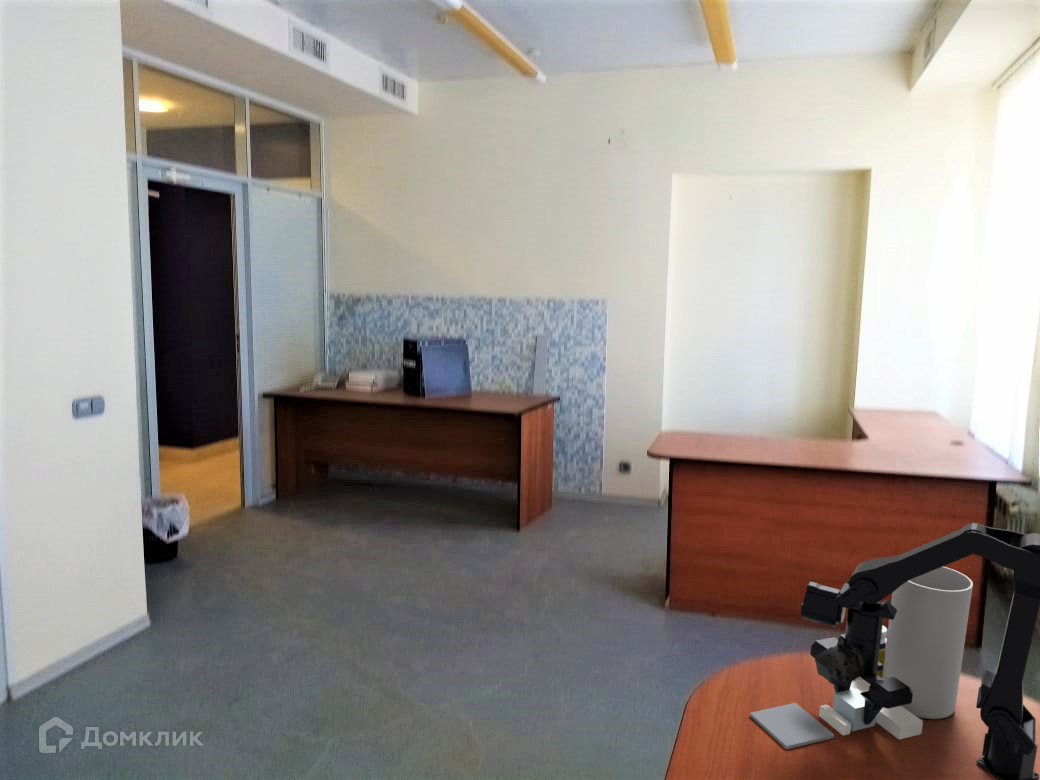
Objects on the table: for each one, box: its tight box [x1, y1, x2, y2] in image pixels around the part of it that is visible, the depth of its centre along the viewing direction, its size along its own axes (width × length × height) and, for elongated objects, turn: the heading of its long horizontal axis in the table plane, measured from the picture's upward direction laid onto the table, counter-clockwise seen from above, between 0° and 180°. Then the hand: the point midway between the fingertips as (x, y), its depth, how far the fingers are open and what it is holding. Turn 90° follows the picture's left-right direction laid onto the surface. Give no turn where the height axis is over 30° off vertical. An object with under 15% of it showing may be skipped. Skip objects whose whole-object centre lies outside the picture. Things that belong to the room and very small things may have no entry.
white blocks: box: [818, 679, 924, 740], centre depth 141 cm, size 14×14×2 cm
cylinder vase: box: [882, 566, 974, 720], centre depth 145 cm, size 12×12×25 cm
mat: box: [749, 702, 835, 750], centre depth 138 cm, size 10×10×1 cm
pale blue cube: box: [832, 688, 876, 732], centre depth 140 cm, size 5×5×4 cm
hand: (854, 714), depth 140 cm, fingers open, 6 cm apart
